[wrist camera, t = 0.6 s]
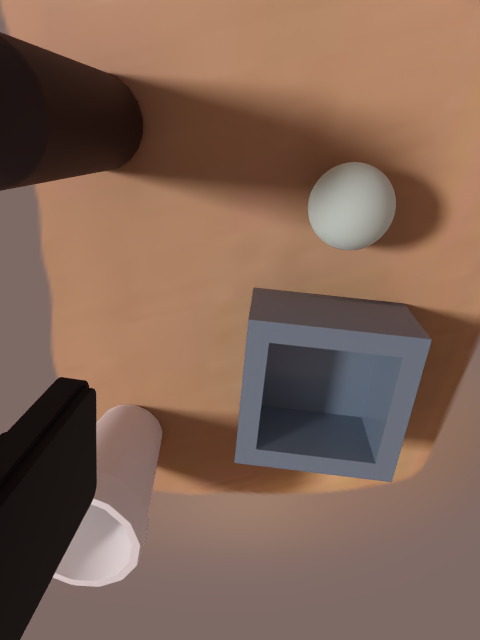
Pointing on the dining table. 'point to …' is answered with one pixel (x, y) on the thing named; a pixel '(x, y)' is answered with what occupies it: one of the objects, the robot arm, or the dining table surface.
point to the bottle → (60, 117)
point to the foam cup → (116, 500)
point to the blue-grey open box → (328, 383)
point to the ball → (351, 206)
